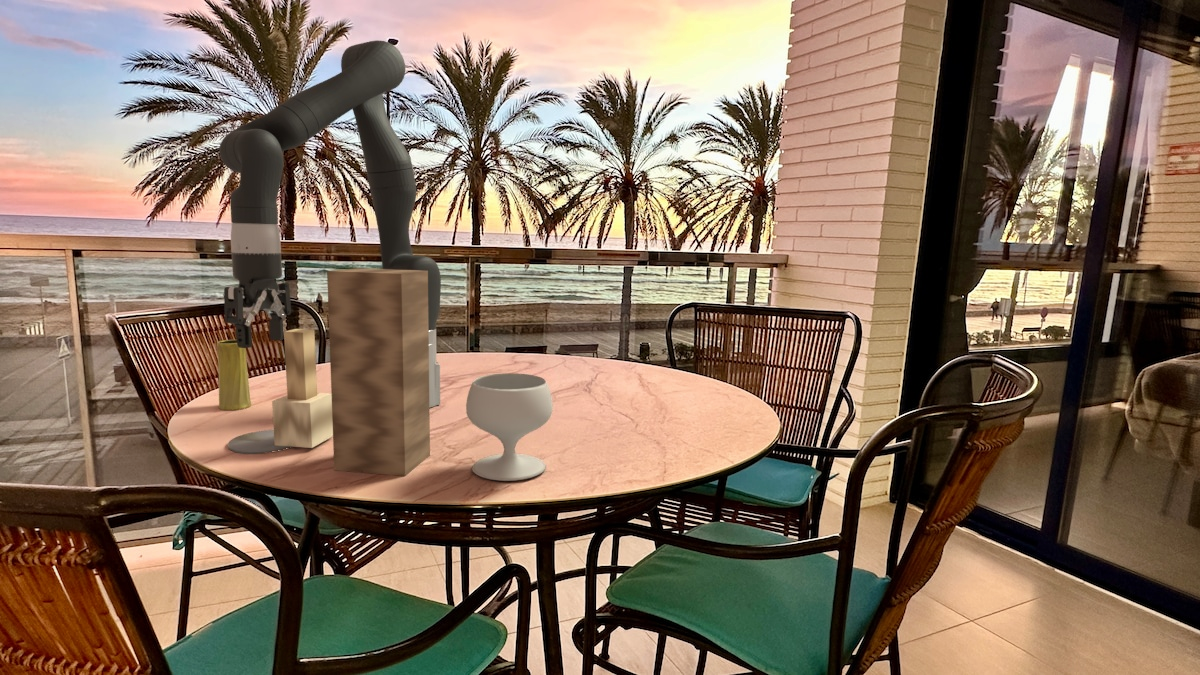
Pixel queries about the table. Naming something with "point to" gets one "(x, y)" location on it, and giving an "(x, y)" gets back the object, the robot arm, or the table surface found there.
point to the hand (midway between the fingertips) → (261, 343)
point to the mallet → (301, 396)
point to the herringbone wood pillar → (379, 369)
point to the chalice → (509, 421)
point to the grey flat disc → (255, 443)
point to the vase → (232, 376)
